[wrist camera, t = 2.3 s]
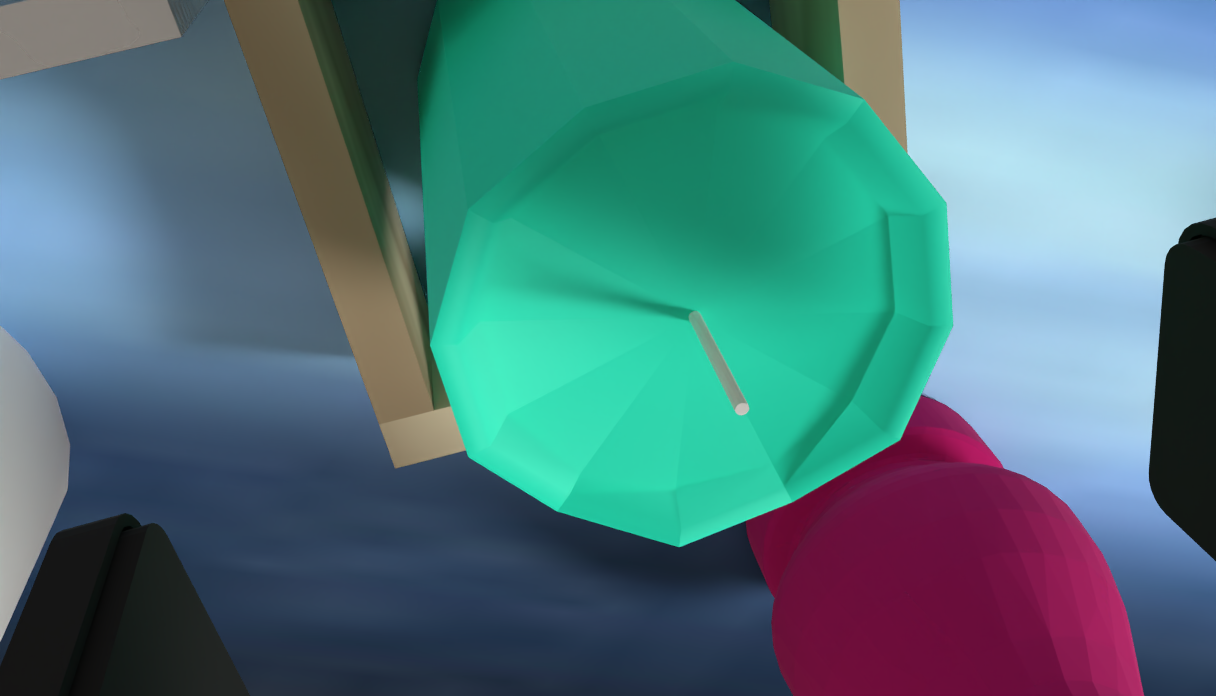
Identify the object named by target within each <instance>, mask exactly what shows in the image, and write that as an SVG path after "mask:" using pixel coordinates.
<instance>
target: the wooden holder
mask: <svg viewBox="0 0 1216 696" xmlns="http://www.w3.org/2000/svg"><path fill="white" fill-rule="evenodd" d="M208 1H209V0H0V79H5V78H9V77H13V76H17V75H22V74H26V73H30V72H34V71H39V70H43V69H47V68H52V67H56V66H60V65H64V64H69V63H73V62H77V61H81V60H86V59H90V58H94V57H98V56H103V55H107V54H111V53H115V52H120V51H124V50H128V49H133V48H137V47H141V46H145V45H150V44H154V43H158V42H162V41H167V40H171V39H175V38H179V37H182V36H183V34H184V33H185V32H186V30H187V29H188V28H189V26H190V25H191V24H192V22H193V21H194V20H195V18H196V17H197V16H198V14H199V13H200V12H201V10H202V9H203V8H204V6H205V5H206V4H207V2H208Z"/></svg>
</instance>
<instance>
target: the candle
mask: <svg viewBox="0 0 1216 696" xmlns="http://www.w3.org/2000/svg"><path fill="white" fill-rule="evenodd" d="M417 87H418V107H419V128H420V149H421V169H422V190H423V210H424V231H425V252H426V272H427V293H428V313H429V334H430V347H431V350H432V353H433V356H434V358H435V361H436V364H437V367H438V370H439V373H440V376H441V379H442V382H443V385H444V388H445V391H446V393H447V396H448V399H449V402H450V405H451V408H452V411H453V414H454V417H455V420H456V423H457V426H458V429H459V431H460V434H461V437H462V440H463V443H464V446H465V449H466V452H467V455H468V457H469V458H470V459H472V460H474V461H475V462H477V463H479V464H480V465H482V466H484V467H485V468H487V469H488V470H490V471H492V472H493V473H495V474H497V475H498V476H500V477H502V478H503V479H505V480H506V481H508V482H510V483H511V484H513V485H515V486H516V487H518V488H520V489H521V490H523V491H524V492H526V493H528V494H529V495H531V496H533V497H534V498H536V499H538V500H539V501H541V502H542V503H544V504H546V505H547V506H549V507H551V508H552V509H554V510H555V511H557V512H561V513H564V514H567V515H571V516H574V517H578V518H581V519H584V520H588V521H591V522H595V523H598V524H601V525H605V526H608V527H612V528H615V529H618V530H622V531H625V532H629V533H632V534H635V535H639V536H642V537H646V538H649V539H652V540H656V541H659V542H663V543H666V544H669V545H673V546H676V547H681V546H684V545H686V544H689V543H691V542H694V541H696V540H699V539H701V538H704V537H706V536H709V535H711V534H714V533H716V532H719V531H721V530H724V529H726V528H729V527H731V526H734V525H737V524H739V523H742V522H744V521H747V520H749V519H752V518H754V517H757V516H759V515H762V514H764V513H767V512H769V511H772V510H774V509H777V508H779V507H782V506H784V505H787V504H789V503H792V502H794V501H795V500H797V499H799V498H801V497H802V496H804V495H806V494H808V493H809V492H811V491H813V490H815V489H816V488H818V487H820V486H821V485H823V484H825V483H827V482H828V481H830V480H832V479H834V478H835V477H837V476H839V475H841V474H842V473H844V472H846V471H847V470H849V469H851V468H853V467H854V466H856V465H858V464H860V463H861V462H863V461H865V460H867V459H868V458H870V457H872V456H873V455H875V454H877V453H879V452H880V451H882V450H884V449H886V448H887V447H889V446H891V445H892V444H894V443H896V442H898V441H899V440H900V439H901V437H902V435H903V433H904V430H905V428H906V426H907V424H908V422H909V420H910V417H911V415H912V413H913V411H914V409H915V407H916V405H917V402H918V400H919V398H920V396H921V394H922V392H923V390H924V387H925V385H926V383H927V381H928V379H929V377H930V374H931V372H932V370H933V368H934V366H935V364H936V362H937V359H938V357H939V355H940V353H941V351H942V349H943V346H944V344H945V342H946V340H947V338H948V336H949V334H950V331H951V329H952V327H953V314H952V296H951V278H950V259H949V241H948V223H947V204H946V202H945V201H944V199H943V198H942V197H941V196H940V194H939V193H938V192H937V191H936V189H935V188H934V187H933V186H932V184H931V183H930V182H929V180H928V179H927V178H926V177H925V175H924V174H923V173H922V172H921V170H920V169H919V168H918V167H917V165H916V164H915V163H914V161H913V160H912V159H911V158H910V156H909V155H908V154H907V153H906V151H905V150H904V149H903V148H902V146H901V145H900V144H899V142H898V141H897V140H896V139H895V137H894V136H893V135H892V134H891V132H890V131H889V130H888V129H887V127H886V126H885V125H884V123H883V122H882V121H881V120H880V118H879V117H878V116H877V115H876V113H875V112H874V111H873V110H872V108H871V107H870V106H869V104H868V103H867V102H866V101H865V99H863V98H862V97H861V96H859V95H858V94H857V93H856V92H854V91H853V90H852V89H850V88H849V87H848V86H846V85H845V84H844V83H843V82H841V81H840V80H839V79H837V78H836V77H835V76H833V75H832V74H831V73H829V72H828V71H827V70H826V69H824V68H823V67H822V66H820V65H819V64H818V63H816V62H815V61H814V60H813V59H811V58H810V57H809V56H807V55H806V54H805V53H803V52H802V51H801V50H799V49H798V48H797V47H796V46H794V45H793V44H792V43H790V42H789V41H788V40H786V39H785V38H784V37H783V36H781V35H780V34H779V33H777V32H776V31H775V30H773V29H772V28H771V27H769V26H768V25H767V24H766V23H764V22H763V21H762V20H760V19H759V18H758V17H756V16H755V15H754V14H753V13H751V12H750V11H749V10H747V9H746V8H745V7H743V6H742V5H741V4H739V3H738V2H737V1H736V0H437V2H436V6H435V10H434V14H433V18H432V22H431V26H430V30H429V34H428V38H427V42H426V46H425V50H424V54H423V58H422V62H421V66H420V70H419V74H418V78H417Z"/></svg>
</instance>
